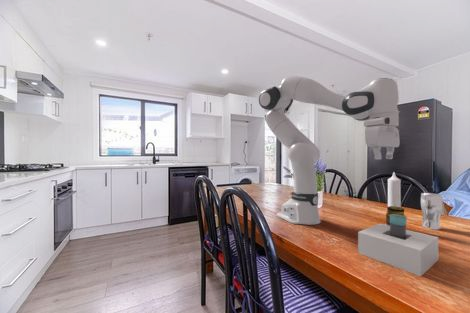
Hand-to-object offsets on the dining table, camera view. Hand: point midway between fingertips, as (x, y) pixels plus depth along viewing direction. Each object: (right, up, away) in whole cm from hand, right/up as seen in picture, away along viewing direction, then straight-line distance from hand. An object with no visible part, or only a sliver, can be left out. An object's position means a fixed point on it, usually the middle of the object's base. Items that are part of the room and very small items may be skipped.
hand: (383, 159), depth 76 cm
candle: (+16, -31, +15) cm, 38 cm away
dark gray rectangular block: (-3, -30, -11) cm, 32 cm away
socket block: (-4, -31, -11) cm, 33 cm away
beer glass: (+32, -31, +15) cm, 47 cm away
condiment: (+7, -31, +4) cm, 32 cm away
